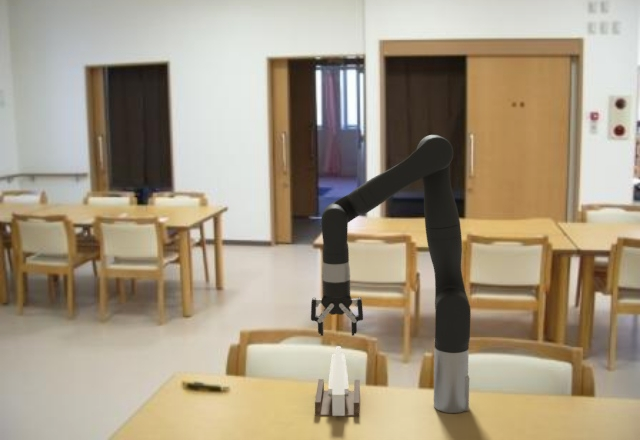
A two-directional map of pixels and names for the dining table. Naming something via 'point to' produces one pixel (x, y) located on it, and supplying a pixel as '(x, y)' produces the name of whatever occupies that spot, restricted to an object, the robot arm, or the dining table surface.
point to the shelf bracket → (338, 382)
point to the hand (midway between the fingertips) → (337, 334)
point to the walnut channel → (325, 401)
